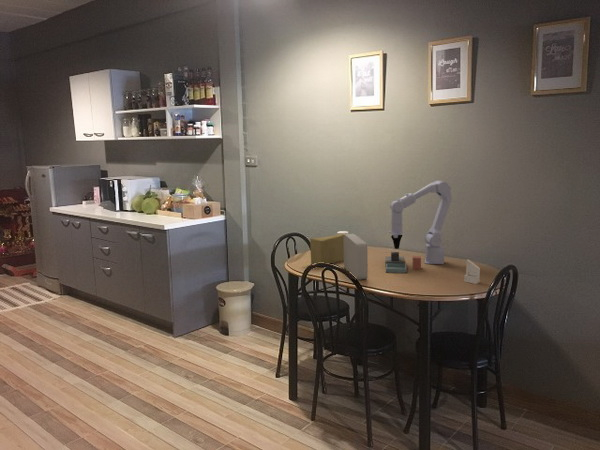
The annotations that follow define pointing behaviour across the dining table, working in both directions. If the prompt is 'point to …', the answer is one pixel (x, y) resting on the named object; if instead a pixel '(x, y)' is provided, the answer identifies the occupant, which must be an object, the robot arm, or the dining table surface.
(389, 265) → the tray
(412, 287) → the dining table surface
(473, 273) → the white wedge bracket
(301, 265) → the dining table surface
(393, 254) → the switch
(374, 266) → the dining table surface
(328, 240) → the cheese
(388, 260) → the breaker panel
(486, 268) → the dining table surface
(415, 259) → the block
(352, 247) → the tall light grey box
